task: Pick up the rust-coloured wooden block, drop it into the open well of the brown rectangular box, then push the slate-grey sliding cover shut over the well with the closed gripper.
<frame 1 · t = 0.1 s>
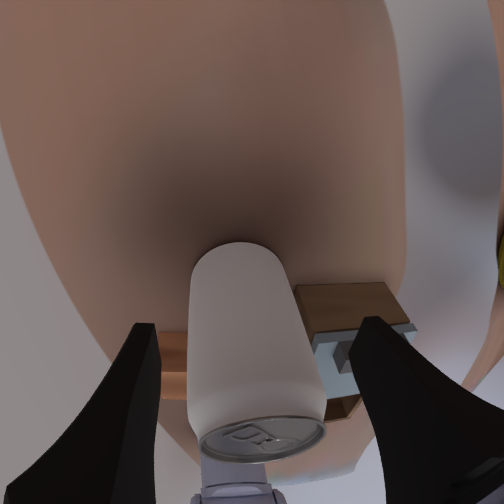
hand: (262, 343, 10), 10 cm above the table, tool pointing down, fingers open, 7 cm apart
can: (237, 277, 21), on the table
block: (185, 347, 25), on the table
cover: (357, 374, 20), point 6 cm above the table, slide at 0.0 cm
brown rectangular box: (314, 367, 28), on the table
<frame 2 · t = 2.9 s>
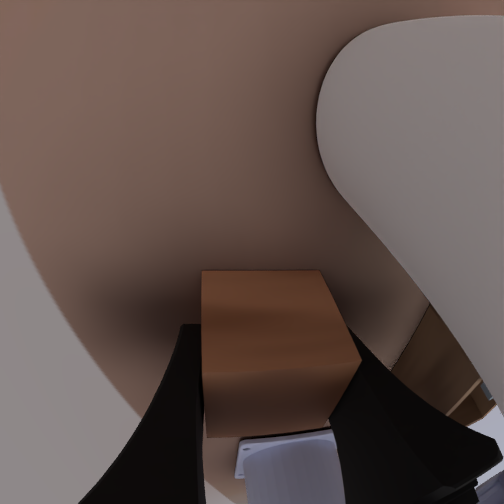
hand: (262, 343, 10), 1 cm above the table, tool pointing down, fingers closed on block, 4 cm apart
can: (404, 122, 8), on the table
block: (256, 314, 11), on the table, touching gripper
brown rectangular box: (448, 343, 15), on the table
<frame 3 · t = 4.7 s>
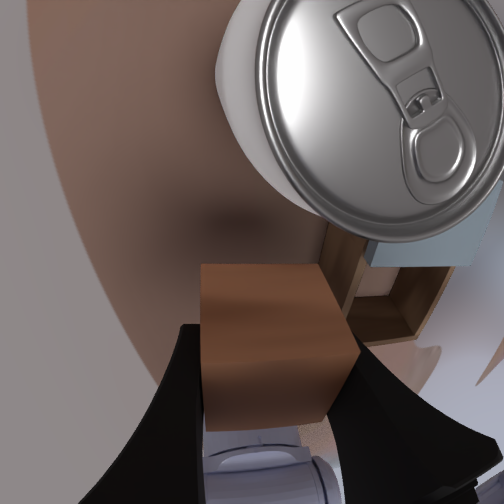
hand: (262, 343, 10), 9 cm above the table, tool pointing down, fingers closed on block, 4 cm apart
can: (277, 75, 14), on the table
block: (255, 308, 11), point 8 cm above the table, touching gripper
cover: (456, 208, 12), point 6 cm above the table, slide at 0.0 cm
brown rectangular box: (368, 259, 21), on the table
when the fingers open (5 cm above the table, at t = 6.7 s): block drops 3 cm, resting in brown rectangular box.
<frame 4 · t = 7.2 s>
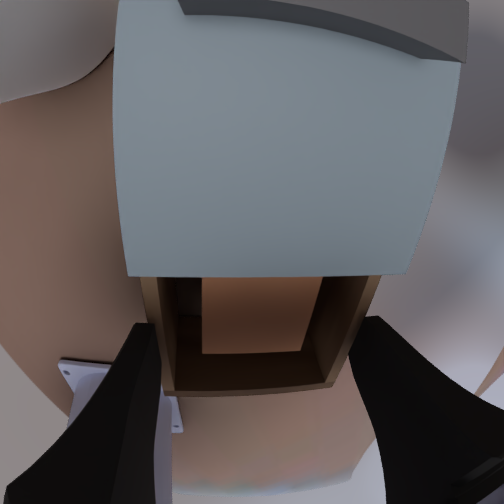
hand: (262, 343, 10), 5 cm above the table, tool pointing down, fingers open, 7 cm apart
can: (63, 16, 7), on the table
block: (246, 256, 14), resting in brown rectangular box
cover: (310, 133, 5), point 6 cm above the table, slide at 0.0 cm
brown rectangular box: (246, 261, 14), on the table
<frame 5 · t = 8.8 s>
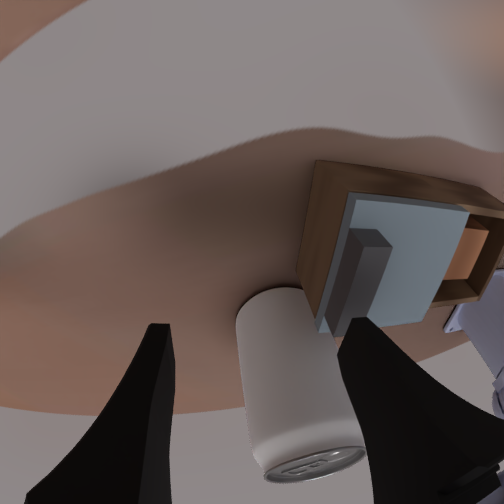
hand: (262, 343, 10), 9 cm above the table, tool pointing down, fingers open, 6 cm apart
can: (277, 315, 23), on the table
block: (431, 226, 20), resting in brown rectangular box
cover: (401, 278, 14), point 6 cm above the table, slide at 0.0 cm
brown rectangular box: (433, 226, 20), on the table
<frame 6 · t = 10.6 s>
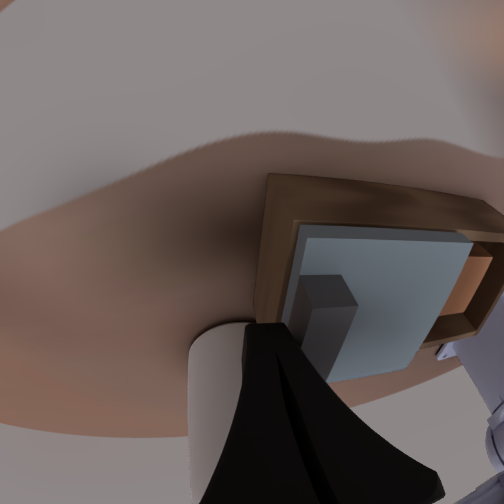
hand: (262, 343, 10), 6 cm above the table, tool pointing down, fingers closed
can: (237, 349, 20), on the table
block: (422, 248, 17), resting in brown rectangular box
cover: (377, 330, 11), point 6 cm above the table, slide at 0.2 cm, touching gripper
brown rectangular box: (425, 249, 17), on the table
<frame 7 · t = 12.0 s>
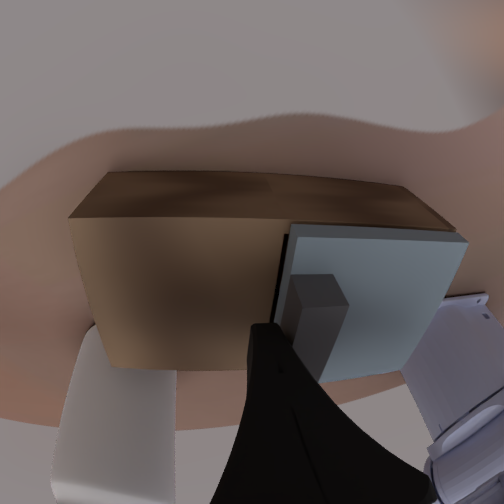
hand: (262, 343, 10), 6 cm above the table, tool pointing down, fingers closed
can: (130, 347, 19), on the table
cover: (371, 330, 11), point 6 cm above the table, slide at 7.2 cm, touching gripper
brown rectangular box: (321, 247, 16), on the table
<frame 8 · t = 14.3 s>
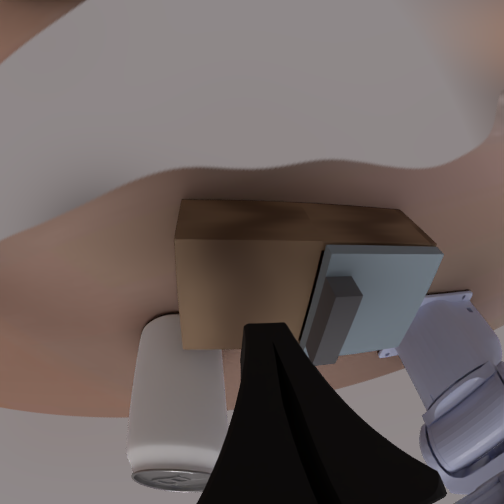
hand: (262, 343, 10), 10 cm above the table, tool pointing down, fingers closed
can: (180, 337, 24), on the table
cover: (375, 314, 16), point 6 cm above the table, slide at 7.1 cm
brown rectangular box: (338, 255, 21), on the table
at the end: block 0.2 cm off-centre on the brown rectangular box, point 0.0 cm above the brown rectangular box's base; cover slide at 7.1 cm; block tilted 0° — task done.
